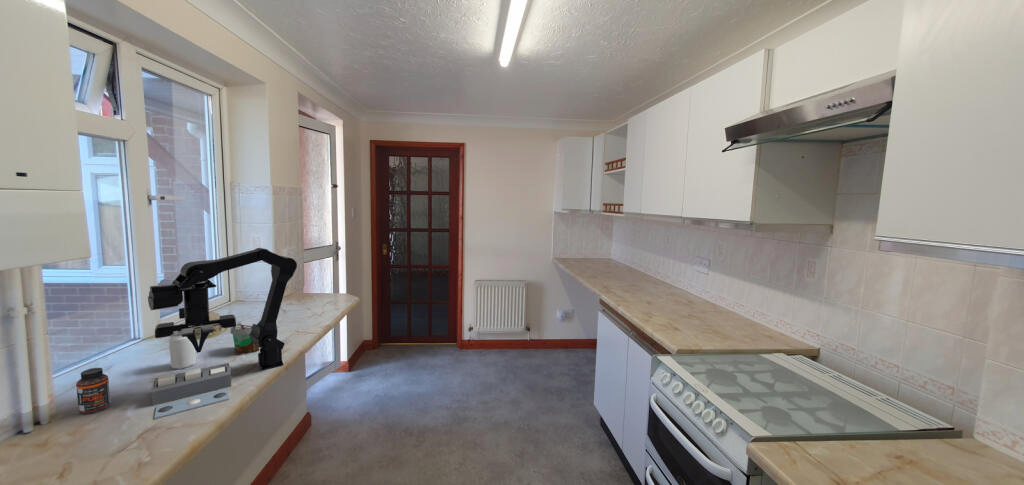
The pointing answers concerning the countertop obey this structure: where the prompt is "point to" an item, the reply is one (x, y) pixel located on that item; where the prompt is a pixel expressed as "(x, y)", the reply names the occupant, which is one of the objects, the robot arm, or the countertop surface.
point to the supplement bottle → (93, 391)
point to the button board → (191, 385)
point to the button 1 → (166, 380)
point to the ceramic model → (216, 329)
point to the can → (181, 351)
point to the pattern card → (191, 403)
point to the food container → (243, 339)
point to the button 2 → (217, 370)
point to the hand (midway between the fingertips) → (198, 352)
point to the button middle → (193, 374)
